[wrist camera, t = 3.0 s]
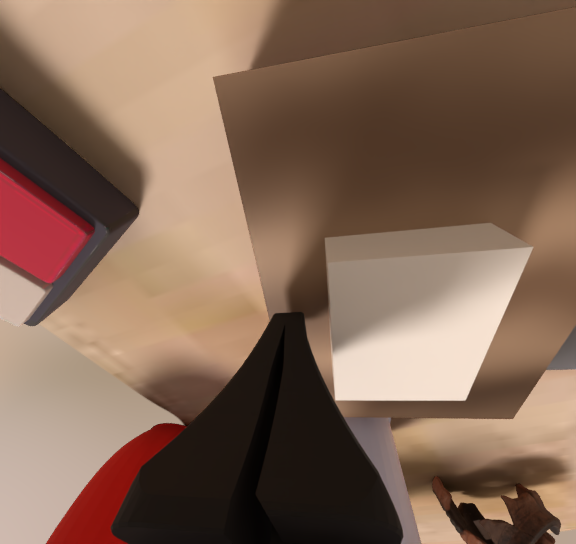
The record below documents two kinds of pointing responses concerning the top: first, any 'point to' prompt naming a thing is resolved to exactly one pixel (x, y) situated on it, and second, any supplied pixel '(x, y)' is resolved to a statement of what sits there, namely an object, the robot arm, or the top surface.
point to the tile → (417, 309)
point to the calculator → (49, 217)
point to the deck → (418, 178)
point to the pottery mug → (497, 533)
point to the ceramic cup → (110, 490)
